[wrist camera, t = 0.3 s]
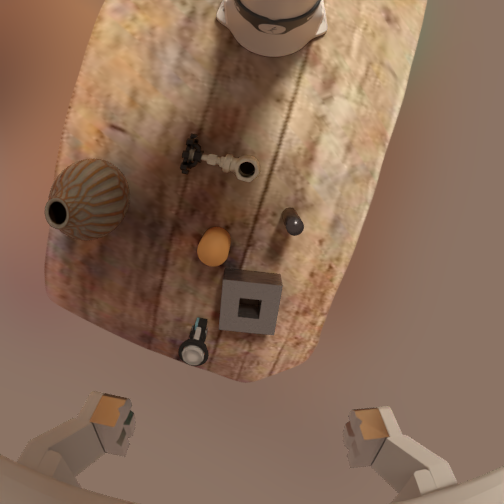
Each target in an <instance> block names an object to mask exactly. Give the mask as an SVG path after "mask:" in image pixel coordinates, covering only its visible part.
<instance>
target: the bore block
mask: <svg viewBox="0 0 504 504" xmlns="http://www.w3.org/2000/svg"><path fill="white" fill-rule="evenodd" d="M282 286H283V285H282V280H281V275H280V274H274V273H265V272H256V271H247V270H238V269H229V268H225V272H224V277H223V285H222V297H221V309H220V321H219V330H227V331H236V332H246V333H256V334H267V335H274V332H275V326H276V321H277V315H278V309H279V304H280V298H281V292H282ZM240 298H245V299H255V300H259V306H257V305H248V304H239V300H240Z"/></svg>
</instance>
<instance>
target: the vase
mask: <svg viewBox="0 0 504 504" xmlns="http://www.w3.org/2000/svg"><path fill="white" fill-rule="evenodd" d="M129 201H130V192H129V186H128V183H127V180H126V178H125V177H124V175H123V174H122V172H121V171H120V170H119V169H118V168H117V167H116V166H114V165H113V164H111V163H110V162H107V161H105V160H101V159H85V160H81V161H78V162H75V163H73V164H71V165H70V166H68V167H67V168H66V169H64V170H63V171H62V172H61V173H60V175H59V176H58V177H57V178H56V180H55V182H54V183H53V185H52V188H51V191H50V194H49V200H48V202H47V204H46V206H45V217H46V220H47V222H48V223H49V225H50V226H51V227H53V228H55V229H59V230H60V231H61V232H62V233H64V234H65V235H67V236H69V237H71V238H74V239H78V240H94V239H98V238H101V237H103V236H105V235H107V234H108V233H110V232H112V231H113V230H114V229H115V228H116V227H117V226H118V225H119V224H120V223H121V221H122V220H123V219H124V217H125V215H126V212H127V210H128V206H129Z"/></svg>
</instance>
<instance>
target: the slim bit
mask: <svg viewBox="0 0 504 504" xmlns="http://www.w3.org/2000/svg"><path fill="white" fill-rule="evenodd" d="M282 218H283V221H284V224H285V226H286V229H287V231H288V233H289V234H291V235H294V236H295V235H299V234H301V233H302V231H303V229H304V225H303V222H302V221H301V219H300V217H299V216H298V214H297V212H296V211H295V210H294V209H293V208H286V209H285V210H284V211H283V212H282Z"/></svg>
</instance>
